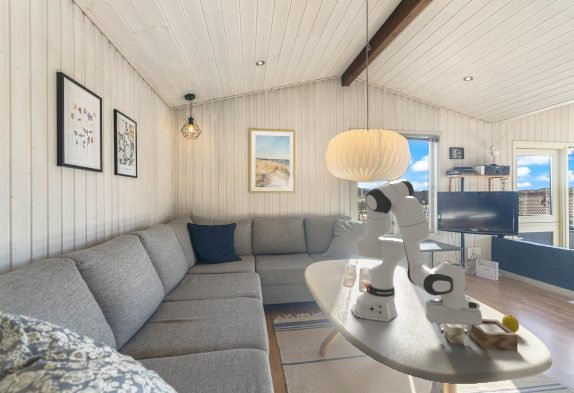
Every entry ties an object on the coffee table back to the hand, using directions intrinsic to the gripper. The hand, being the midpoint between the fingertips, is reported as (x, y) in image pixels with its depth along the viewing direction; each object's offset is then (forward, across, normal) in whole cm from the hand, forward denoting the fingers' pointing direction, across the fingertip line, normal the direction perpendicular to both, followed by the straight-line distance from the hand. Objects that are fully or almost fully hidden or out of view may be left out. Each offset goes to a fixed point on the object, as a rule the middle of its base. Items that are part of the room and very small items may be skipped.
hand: (453, 333), depth 107 cm
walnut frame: (+3, +15, +2) cm, 15 cm away
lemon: (+3, +26, +9) cm, 28 cm away
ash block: (+3, +1, +1) cm, 3 cm away
